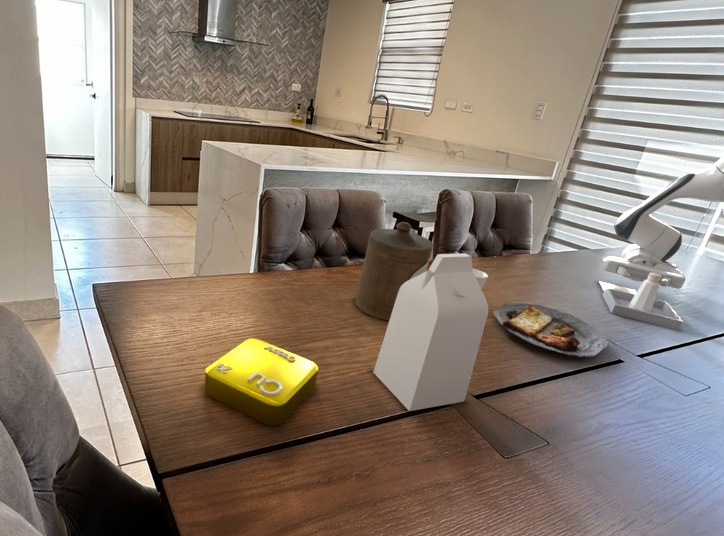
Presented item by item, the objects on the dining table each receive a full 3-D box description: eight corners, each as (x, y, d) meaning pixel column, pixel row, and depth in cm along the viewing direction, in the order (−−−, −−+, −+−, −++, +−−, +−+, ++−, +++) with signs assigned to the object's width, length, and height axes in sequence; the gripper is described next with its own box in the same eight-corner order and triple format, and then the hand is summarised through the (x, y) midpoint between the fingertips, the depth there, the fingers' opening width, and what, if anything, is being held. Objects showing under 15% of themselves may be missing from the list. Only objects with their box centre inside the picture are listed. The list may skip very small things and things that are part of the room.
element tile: (318, 385, 84) (322, 362, 82) (276, 431, 72) (279, 405, 70) (248, 354, 90) (251, 333, 88) (199, 392, 78) (200, 368, 76)
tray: (663, 309, 137) (667, 301, 136) (678, 330, 125) (683, 321, 124) (602, 295, 143) (605, 287, 142) (611, 313, 130) (615, 304, 129)
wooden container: (418, 326, 109) (442, 236, 101) (355, 315, 111) (373, 226, 102) (411, 300, 123) (432, 219, 114) (355, 290, 124) (371, 209, 116)
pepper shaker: (641, 314, 130) (658, 278, 126) (623, 305, 135) (639, 270, 131) (655, 313, 132) (672, 278, 128) (636, 304, 137) (653, 270, 132)
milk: (424, 365, 94) (459, 242, 84) (464, 401, 84) (509, 267, 74) (373, 372, 90) (403, 243, 79) (409, 411, 80) (449, 270, 70)
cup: (450, 300, 126) (458, 272, 123) (456, 288, 134) (464, 262, 131) (477, 308, 123) (486, 280, 120) (482, 295, 131) (490, 269, 128)
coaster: (634, 290, 150) (634, 289, 150) (642, 301, 141) (642, 300, 141) (598, 282, 153) (599, 281, 153) (603, 292, 145) (604, 291, 145)
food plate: (578, 374, 98) (584, 360, 96) (474, 325, 114) (479, 312, 112) (616, 343, 113) (622, 330, 112) (521, 304, 129) (525, 292, 127)
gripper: (605, 248, 153) (608, 259, 142) (683, 266, 144) (692, 279, 133) (598, 266, 156) (600, 278, 144) (673, 285, 147) (682, 299, 135)
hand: (645, 279), depth 139 cm, fingers open, 8 cm apart
